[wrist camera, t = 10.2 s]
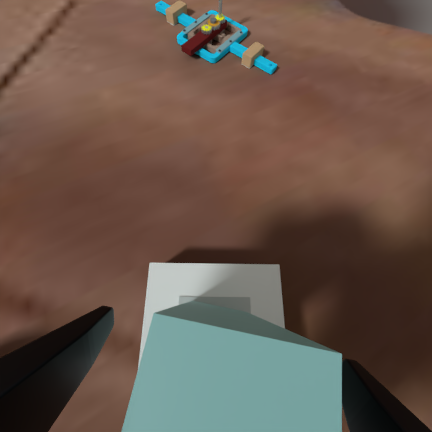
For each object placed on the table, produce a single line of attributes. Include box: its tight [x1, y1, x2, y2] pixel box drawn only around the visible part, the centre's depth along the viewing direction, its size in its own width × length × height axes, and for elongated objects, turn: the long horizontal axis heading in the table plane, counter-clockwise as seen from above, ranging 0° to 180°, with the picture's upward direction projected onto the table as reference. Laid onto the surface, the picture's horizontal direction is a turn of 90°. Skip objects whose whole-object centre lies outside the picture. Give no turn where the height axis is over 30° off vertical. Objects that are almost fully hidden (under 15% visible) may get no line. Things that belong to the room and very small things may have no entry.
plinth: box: [138, 263, 285, 369], centre depth 17 cm, size 10×10×3 cm
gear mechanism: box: [155, 0, 277, 74], centre depth 28 cm, size 20×5×9 cm
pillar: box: [122, 301, 342, 432], centre depth 10 cm, size 4×4×12 cm
